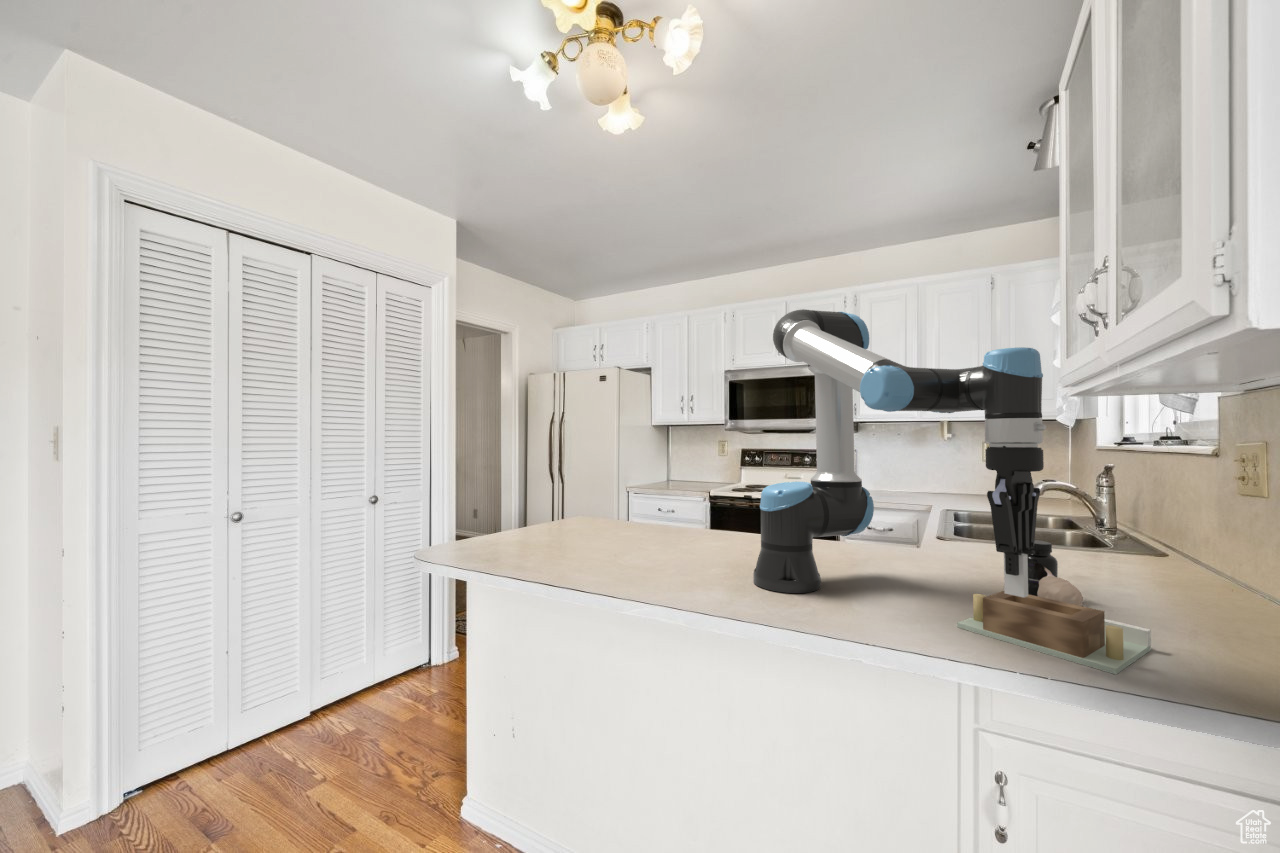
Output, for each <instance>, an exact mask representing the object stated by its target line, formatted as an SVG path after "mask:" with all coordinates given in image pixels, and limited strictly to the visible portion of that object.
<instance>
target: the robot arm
mask: <svg viewBox="0 0 1280 853" xmlns="http://www.w3.org/2000/svg"><path fill="white" fill-rule="evenodd" d="M772 332H773V333H772V341H773V345H774V346H775V347H774V348H775V350H776V351H777V352H778V353H779V354H780V355H781V356H783V357H784V358H786V359H788V360H790V361H792V362H794V363H805V364H806V365H807V367H808V370H809V371H810V372H811V373H812V374H813V376H814V390H815V391H814V395H815V396H814V397H815V398H814V399H815V400H814V401H815V439H816V441H815V442H816V446H815V447H816V472H815V474H813V476H812V477H811V478H810V482H807V481H791V482H790V481H787V482H786V481H785V482H778V483H773V484H770V485H767V486H765V487H764V488H763V489H762V491H761V494H760V503H759V509H760V552H759V554H758V558H757V562H756V566H755V568H754V569H753V573H752V574H753V579H752V580H753V584H754V585H755V586H757V587H759V588H761V589H764V590H768V591H773V592H779V593H787V594H788V593H789V594H790V593H791V594H803V593H804V594H805V593H810V592H815V591H818V590H820V589H821V587H822V585H821V584H822V579H821V578H822V577H821V574H820V572H819V570H818V565H817V562H816V560H815V556H814V553H813V538H821V537H833V536H834V537H837V536H841V537H847V536H852V535H856V534H860V533H863V531H865V530H866V529H867V528H868V527H869V526H870V524H871V522H872V520H873V516H874V511H875V506H874V505H875V504H874V500H873V497H872V496H870V495H871V494H870V492H869V490H868V489H867V488H865V487H863V482H862V478H861V477H860V476H859V475H857V473H856V471H855V470H856V469H855V466H856V465H855V435H854V431H855V428H854V427H855V426H854V394H853V392H854V391H853V390H855V391H856V392H858V393H860V398H861V399H862V400H863V403H864V405H865V406H866V407H867V408H869V409H872V410H875V411H876V410H877V411H882V412H883V411H884V412H888V413H891V412H931V413H940V414H943V413H944V414H953V413H958V412H971V411H984V443H985V444H988V447H986V449H985V468H986V470H989V471H996V477H995V482H994V483H995V484H994V485H995V486H994V490H988V491H987V492H986V498H987V500H988V502H989V505H990V512H991V521H992V529H993V534H994V542H995V550H996V552H998V553H1003V578H1004V579H1003V580H1004V583H1003V584H1004V586H1003V587H1004V590H1003V591H1004V593H1005V594H1010V595H1014V596H1019V597H1023V598H1024V597H1027V596H1028V556H1027V554H1026V553H1028V554H1034V553H1035V550H1032V549H1029V548H1033V547H1034V541H1035V540H1036V539H1035V538H1036V527H1037V526H1036V525H1037V515H1038V503H1039V499H1040V496H1041V489H1040V487H1034V486H1035V485H1034V483H1033V478H1032V473H1031V472H1035V473H1036V472H1041V471H1043V470H1044V463H1045V462H1044V449H1043V448H1042V447H1039V445H1041V444H1042V443H1043V440H1044V438H1043V433H1044V432H1043V431H1045V430H1047V425H1045V423H1043V414H1042V413H1043V412H1042V411H1043V409H1042V407H1043V406H1042V404H1043V403H1042V399H1043V398H1042V397H1043V396H1042V395H1043V393H1042V392H1043V377H1044V374H1043V372H1042V361H1041V360H1042V359H1041V353H1040V352H1039V351H1038V349H1036V348H1034V347H1023V346H1022V347H1006V348H998V349H993V350H990V351H987V352H986V353H985V354H984V356H983V362H982V365H980V366H975V367H967V368H955V369H954V368H952V369H951V368H932V367H931V368H930V367H912V366H906V365H903V364H901V363H898V362H896V361H893V360H891V359H889V358H886V357H885V356H882V355H880V354H878V353H875V352H873V351H871V350H868V349H869V345H870V332H869V329H868V326H867V324H866V322H865V321H864V320H863V318H861V317H860V316H858V315H857V314H854V313H850V312H849V313H848V312H845V311H831V310H830V311H829V310H828V311H826V310H815V309H814V310H813V309H812V310H811V309H804V308H803V309H796V310H793V311H790V312H788V313H786V314H784V315H783V316H782V317H781V318H780V319H779V320H778V321H777V323H776V324H775V326H774V329H773V331H772Z"/></svg>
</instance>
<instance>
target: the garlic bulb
mask: <svg viewBox="0 0 1280 853" xmlns="http://www.w3.org/2000/svg"><path fill="white" fill-rule="evenodd" d="M1045 569H1046V568H1045ZM1045 569H1044V570H1045ZM1045 571H1046V572H1047V573H1048V575H1047V576H1046V577H1043V578H1042V579H1041V580H1040V581H1039V589H1038V592H1037V595H1038V597H1042V598H1047V599H1051V600H1056V601H1060V602H1065V603H1069V604H1074V605H1078V606H1083V602H1084V597H1083V594H1082V592H1081V590H1079V588H1078V587H1076V586H1075V585H1073V584H1072V583H1071V582H1070V581H1068V580H1066V579H1065V578H1061V577H1058V576H1057V577H1055V576H1053V575H1052V573H1051V572H1050V571H1049V570H1048V569H1046V570H1045Z"/></svg>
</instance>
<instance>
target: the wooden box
mask: <svg viewBox="0 0 1280 853" xmlns="http://www.w3.org/2000/svg"><path fill="white" fill-rule="evenodd" d="M1105 619H1106V617H1105V610H1100V609H1096V608H1091V607H1086V606H1083V605H1082V606H1078V605H1074V604H1069V603H1065V602H1060V601H1056V600H1051V599H1047V598H1042V597H1038V596H1033V595H1029V594H1028V596H1027V597H1024V598H1023V597H1019V596H1014V595H1010V594H1005V593H1004V590H1001V591H998V592H995V593H993V594H990V595H986V597H984V598H983V629H984V630H987V631H991V632H994V633H997V634H1001V635H1004V636H1008V637H1011V638H1015V639H1018V640H1022V641H1025V642H1029V643H1032V644H1035V645H1039V646H1042V647H1046V648H1049V649H1053V650H1056V651H1060V652H1063V653H1067V654H1070V655H1073V656H1077V657H1080V658H1085V657H1086V656H1088V655H1090V654H1091V653H1093V652H1095V651H1097V650H1098V649H1100V648H1102V647H1103V646H1105Z"/></svg>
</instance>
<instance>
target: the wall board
mask: <svg viewBox="0 0 1280 853" xmlns="http://www.w3.org/2000/svg"><path fill="white" fill-rule="evenodd" d="M972 596H973V598H972V599H973V600H972V602H973V603H972V604H973V605H972V606H973V607H972V608H973V610H972V611H973V613H972V614H973V616H972V617H969V618H967V619H964V620H960V621H959V622H957V623H956V624H957V626H956V627H957V628H958V629H962V630H965V631H968V632H972V633H976V634H979V635H982V636H986V637H988V638H989V637H990V638H992V639H995V640H998V641H1002V642H1005V643H1009V644H1012V645H1016V646H1019V647H1022V648H1026V649H1029V650H1032V651H1035V652H1036V651H1037V652H1039V653H1042V654H1046V655H1048V656H1053V657H1056V658H1059V659H1063V660H1067V661H1070V662H1073V663H1076V664H1080V665H1083V666H1087V667H1090V668H1094V669H1097V670H1100V671H1102V672H1103V671H1104V672H1106V673H1110V674H1112V675H1113V674H1114V675H1117V674H1119V673H1120V672H1122V671H1123V670H1124V669H1126V668H1127V667H1129V666H1130V665H1131V664H1133V663H1134V662H1136V661H1137V660H1139V659H1140V658H1142V657H1143V656H1145V655H1146V654H1147V653H1149V652H1150V651H1151V650H1152V647H1151V646H1152V642H1151V641H1152V639H1151V638H1152V637H1151V636H1152V634H1151V633H1152V632H1151V629H1150V628H1145V627H1141V626H1137V625H1132V624H1128V623H1124V622H1120V621H1116V620H1113V619H1111V620H1110V619H1107V618H1105V646H1103V647H1102V648H1100V649H1098V650H1097V651H1095V652H1093V653H1091V654H1090V655H1088V656H1086V657H1085V658H1080V657H1077V656H1073V655H1070V654H1067V653H1063V652H1060V651H1056V650H1053V649H1049V648H1046V647H1042V646H1039V645H1035V644H1032V643H1029V642H1025V641H1022V640H1018V639H1015V638H1011V637H1008V636H1004V635H1001V634H997V633H994V632H991V631H987V630H984V629H983V598H984V597H987V595H985V594H982V593H973V594H972Z"/></svg>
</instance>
